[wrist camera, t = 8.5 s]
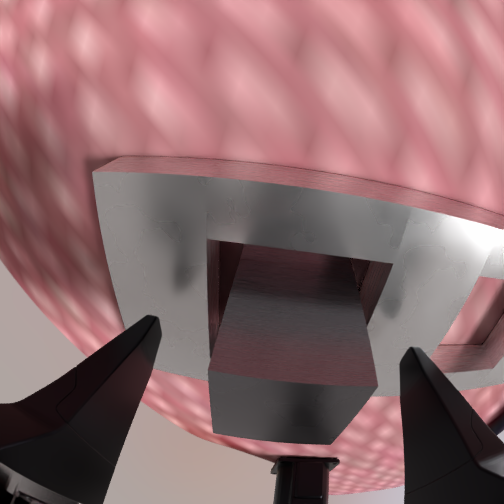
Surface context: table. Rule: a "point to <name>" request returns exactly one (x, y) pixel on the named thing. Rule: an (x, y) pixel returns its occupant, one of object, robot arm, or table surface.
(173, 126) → the table surface
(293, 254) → the dark grey block
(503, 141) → the table surface
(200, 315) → the metal plate with holes
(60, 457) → the robot arm
